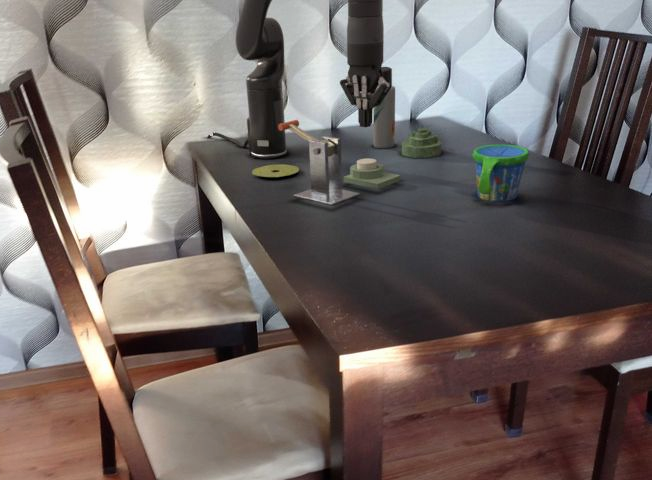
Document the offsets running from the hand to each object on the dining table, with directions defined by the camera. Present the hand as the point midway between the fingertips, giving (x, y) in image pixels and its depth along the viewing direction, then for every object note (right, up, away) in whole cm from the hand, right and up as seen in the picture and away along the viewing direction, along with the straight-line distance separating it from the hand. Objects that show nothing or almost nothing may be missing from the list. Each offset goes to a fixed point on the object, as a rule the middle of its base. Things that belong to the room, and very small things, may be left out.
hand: (365, 126), depth 153 cm
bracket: (-8, -17, -3) cm, 19 cm away
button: (+1, -8, +4) cm, 9 cm away
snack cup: (+26, -18, -9) cm, 33 cm away
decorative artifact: (+17, +2, +29) cm, 33 cm away
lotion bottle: (+8, +6, +37) cm, 39 cm away
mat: (-20, -8, +15) cm, 26 cm away
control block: (+2, -12, +5) cm, 13 cm away
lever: (-13, -5, -5) cm, 15 cm away
